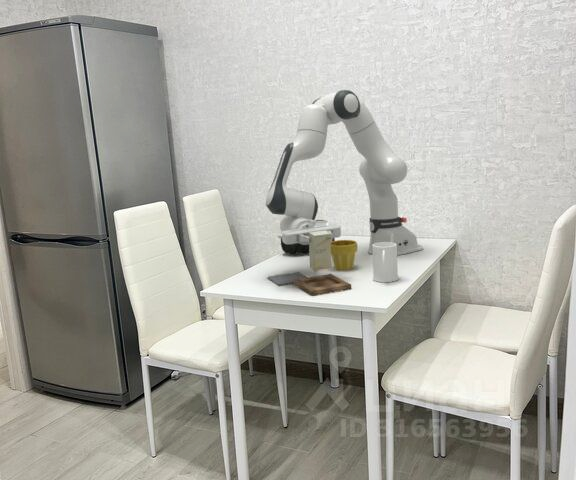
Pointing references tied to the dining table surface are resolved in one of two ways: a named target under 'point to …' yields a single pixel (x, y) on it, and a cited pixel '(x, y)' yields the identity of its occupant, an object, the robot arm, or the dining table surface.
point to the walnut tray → (321, 284)
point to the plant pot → (343, 254)
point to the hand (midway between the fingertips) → (320, 238)
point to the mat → (286, 278)
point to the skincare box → (320, 250)
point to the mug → (385, 262)
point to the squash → (294, 248)
